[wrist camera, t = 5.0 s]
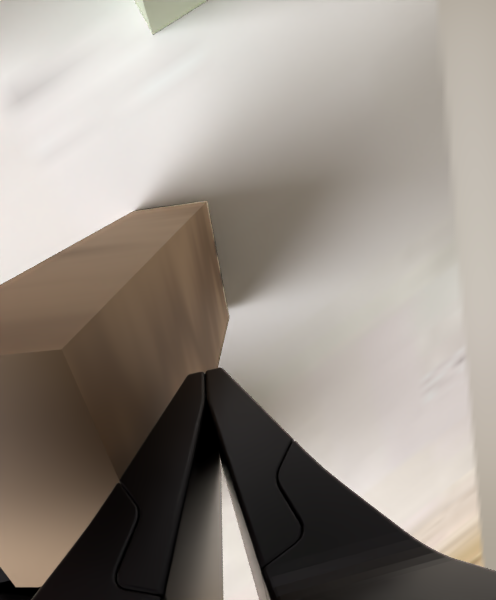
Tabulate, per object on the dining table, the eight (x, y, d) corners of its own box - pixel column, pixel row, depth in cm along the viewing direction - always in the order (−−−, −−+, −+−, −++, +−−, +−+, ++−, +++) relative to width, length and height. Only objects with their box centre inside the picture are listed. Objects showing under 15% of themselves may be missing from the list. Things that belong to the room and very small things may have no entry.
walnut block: (229, 317, 18) (165, 585, 7) (165, 323, 19) (16, 587, 8) (207, 200, 16) (62, 349, 5) (133, 211, 16) (-151, 369, 5)
